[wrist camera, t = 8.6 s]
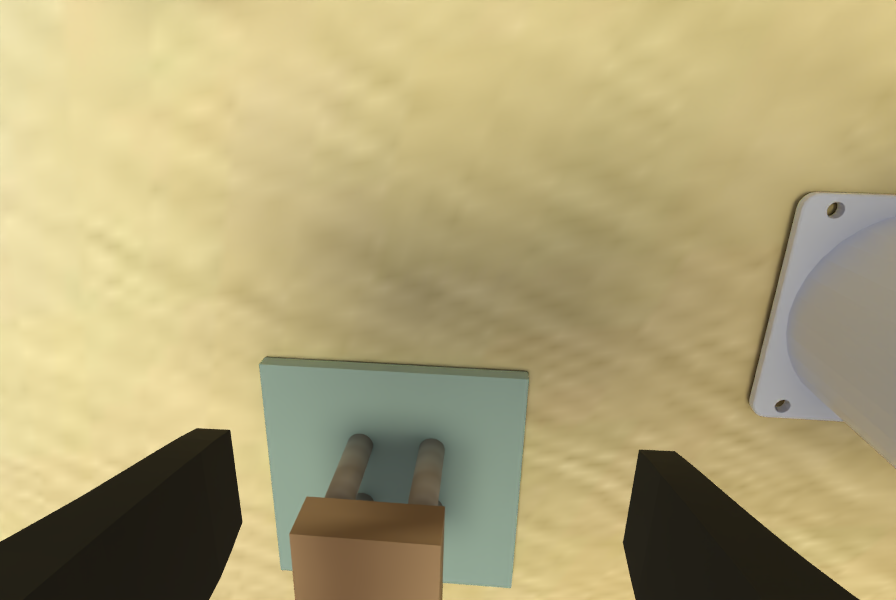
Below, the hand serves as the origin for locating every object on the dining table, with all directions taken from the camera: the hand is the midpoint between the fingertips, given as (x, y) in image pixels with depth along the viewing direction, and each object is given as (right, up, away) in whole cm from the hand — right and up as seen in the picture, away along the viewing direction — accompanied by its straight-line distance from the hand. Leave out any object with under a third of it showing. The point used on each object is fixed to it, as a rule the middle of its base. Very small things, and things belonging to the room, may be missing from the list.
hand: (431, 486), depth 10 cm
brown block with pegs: (-2, -4, +12) cm, 13 cm away
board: (-2, -4, +13) cm, 13 cm away
